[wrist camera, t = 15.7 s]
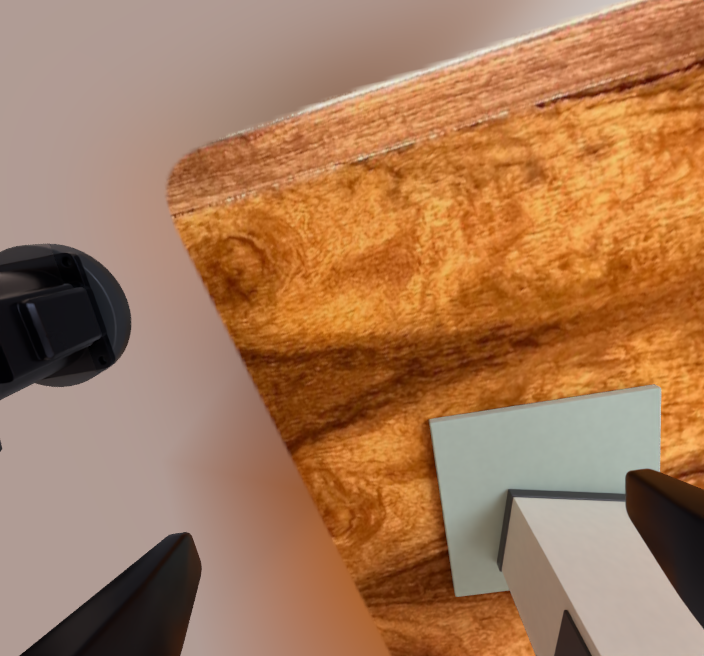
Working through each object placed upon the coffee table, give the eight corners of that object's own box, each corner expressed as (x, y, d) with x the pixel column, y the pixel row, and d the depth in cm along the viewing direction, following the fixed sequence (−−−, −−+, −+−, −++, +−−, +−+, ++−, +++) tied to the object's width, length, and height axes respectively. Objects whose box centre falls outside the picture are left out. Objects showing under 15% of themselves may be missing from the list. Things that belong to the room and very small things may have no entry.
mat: (454, 590, 25) (455, 597, 24) (428, 418, 22) (430, 423, 21) (652, 565, 24) (658, 572, 24) (654, 383, 21) (661, 387, 21)
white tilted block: (618, 568, 24) (866, 906, 12) (495, 563, 24) (623, 893, 12) (637, 493, 22) (938, 791, 11) (507, 488, 22) (663, 777, 11)
